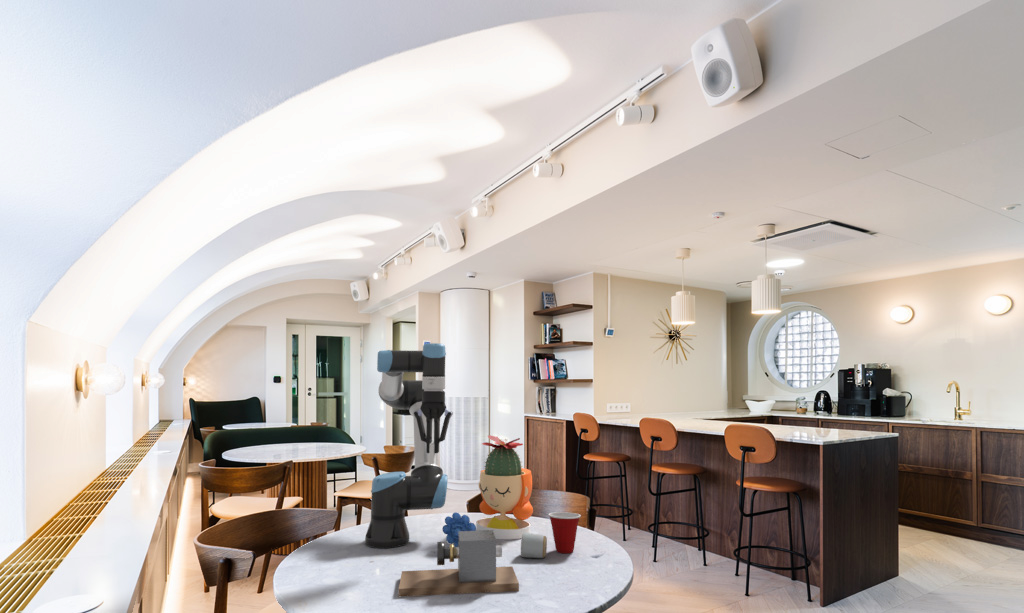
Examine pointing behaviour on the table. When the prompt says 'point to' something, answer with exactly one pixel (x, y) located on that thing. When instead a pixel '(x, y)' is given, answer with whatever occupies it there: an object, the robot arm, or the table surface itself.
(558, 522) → the plastic cup
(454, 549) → the shaft
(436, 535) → the table surface
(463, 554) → the bearing block
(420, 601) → the table surface
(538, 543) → the ceramic mug
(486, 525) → the potted cactus
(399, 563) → the table surface
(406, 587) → the base plate
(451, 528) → the grapes
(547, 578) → the table surface
